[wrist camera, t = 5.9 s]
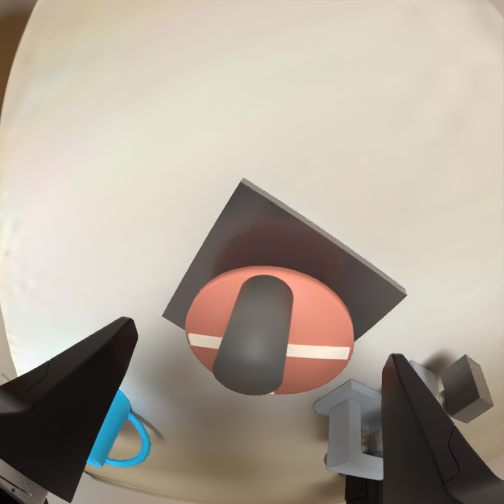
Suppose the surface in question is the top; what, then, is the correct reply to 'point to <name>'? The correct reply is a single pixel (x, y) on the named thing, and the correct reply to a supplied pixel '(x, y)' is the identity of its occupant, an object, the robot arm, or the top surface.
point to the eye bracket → (357, 425)
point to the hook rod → (449, 399)
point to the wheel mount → (285, 258)
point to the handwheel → (270, 330)
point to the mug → (111, 431)
